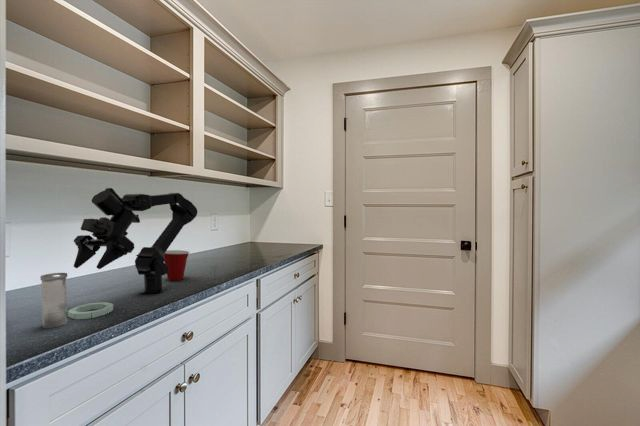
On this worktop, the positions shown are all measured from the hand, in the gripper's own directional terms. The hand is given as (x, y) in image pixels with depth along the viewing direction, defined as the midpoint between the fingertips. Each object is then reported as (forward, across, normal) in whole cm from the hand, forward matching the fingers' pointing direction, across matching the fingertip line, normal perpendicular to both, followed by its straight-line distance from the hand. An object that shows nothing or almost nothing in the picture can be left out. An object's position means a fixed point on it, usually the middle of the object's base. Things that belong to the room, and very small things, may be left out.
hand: (86, 267), depth 93 cm
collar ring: (+9, 0, +9) cm, 13 cm away
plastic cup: (-18, -8, +40) cm, 44 cm away
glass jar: (+16, 0, +2) cm, 16 cm away
